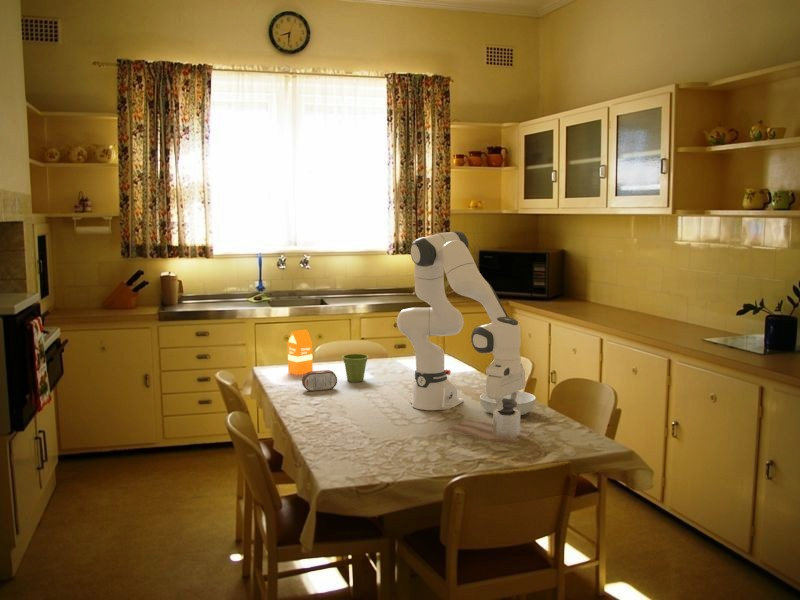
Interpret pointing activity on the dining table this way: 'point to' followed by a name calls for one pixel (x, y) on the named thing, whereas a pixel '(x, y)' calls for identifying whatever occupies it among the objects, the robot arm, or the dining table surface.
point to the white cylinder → (506, 424)
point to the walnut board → (483, 431)
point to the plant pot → (355, 366)
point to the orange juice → (300, 352)
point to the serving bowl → (523, 398)
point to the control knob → (508, 406)
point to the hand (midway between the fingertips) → (506, 406)
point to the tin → (319, 380)
